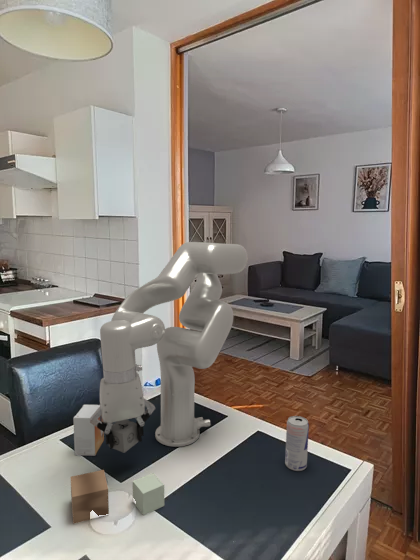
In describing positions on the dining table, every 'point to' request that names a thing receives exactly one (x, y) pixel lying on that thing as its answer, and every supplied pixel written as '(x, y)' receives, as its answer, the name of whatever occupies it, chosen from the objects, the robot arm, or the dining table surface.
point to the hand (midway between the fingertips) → (125, 441)
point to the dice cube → (124, 435)
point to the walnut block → (89, 495)
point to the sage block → (148, 493)
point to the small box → (87, 432)
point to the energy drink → (296, 443)
